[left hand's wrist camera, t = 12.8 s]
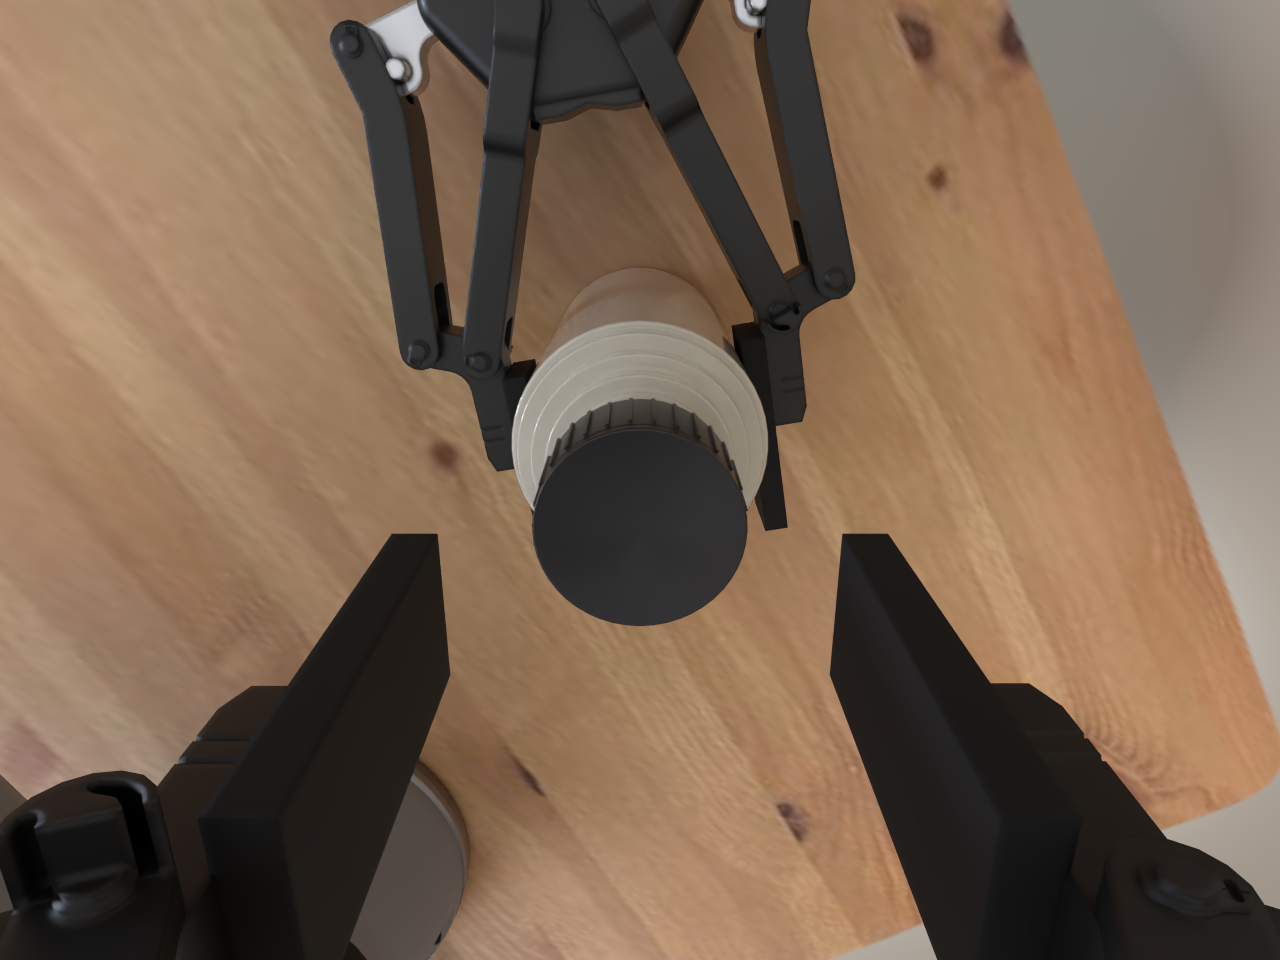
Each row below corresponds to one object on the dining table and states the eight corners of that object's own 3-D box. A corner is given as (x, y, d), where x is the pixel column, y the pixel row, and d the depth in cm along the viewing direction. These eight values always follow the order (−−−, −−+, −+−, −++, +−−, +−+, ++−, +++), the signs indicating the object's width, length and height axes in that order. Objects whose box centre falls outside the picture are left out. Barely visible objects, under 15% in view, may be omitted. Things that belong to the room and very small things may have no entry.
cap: (551, 383, 19) (539, 411, 16) (754, 409, 19) (769, 440, 17) (533, 567, 20) (520, 616, 18) (720, 589, 20) (730, 640, 18)
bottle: (564, 256, 33) (487, 342, 16) (737, 279, 33) (833, 386, 17) (548, 423, 35) (466, 646, 19) (709, 443, 36) (770, 680, 19)
